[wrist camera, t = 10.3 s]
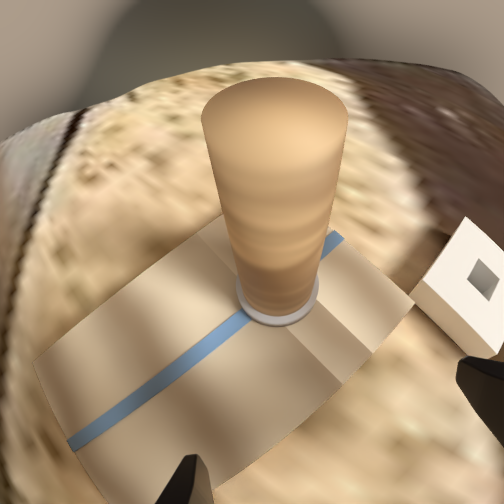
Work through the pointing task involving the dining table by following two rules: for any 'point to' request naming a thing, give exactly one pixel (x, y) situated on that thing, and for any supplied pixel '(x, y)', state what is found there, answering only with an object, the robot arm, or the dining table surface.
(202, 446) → the beige flat rectangular piece
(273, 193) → the awl
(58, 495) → the dining table surface
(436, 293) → the awl holder
